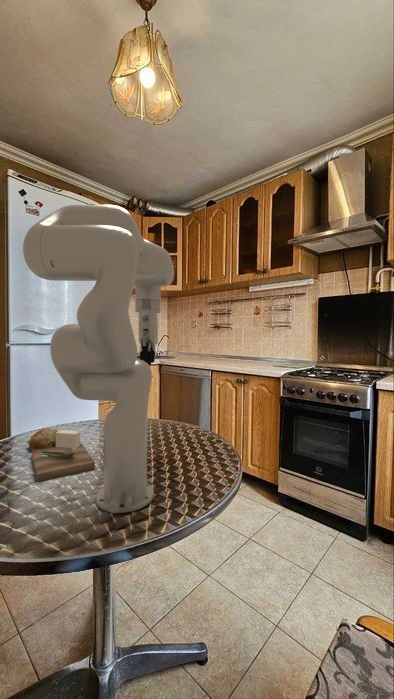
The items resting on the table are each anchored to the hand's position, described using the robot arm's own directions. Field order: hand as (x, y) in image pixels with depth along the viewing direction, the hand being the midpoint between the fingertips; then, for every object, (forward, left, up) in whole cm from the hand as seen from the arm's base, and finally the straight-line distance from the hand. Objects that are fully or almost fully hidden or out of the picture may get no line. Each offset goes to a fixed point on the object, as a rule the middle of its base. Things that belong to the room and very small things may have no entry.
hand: (147, 363), depth 91 cm
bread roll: (+10, +33, -29) cm, 45 cm away
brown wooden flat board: (-3, +24, -28) cm, 37 cm away
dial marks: (0, +26, -26) cm, 37 cm away
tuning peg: (-3, +24, -26) cm, 36 cm away
